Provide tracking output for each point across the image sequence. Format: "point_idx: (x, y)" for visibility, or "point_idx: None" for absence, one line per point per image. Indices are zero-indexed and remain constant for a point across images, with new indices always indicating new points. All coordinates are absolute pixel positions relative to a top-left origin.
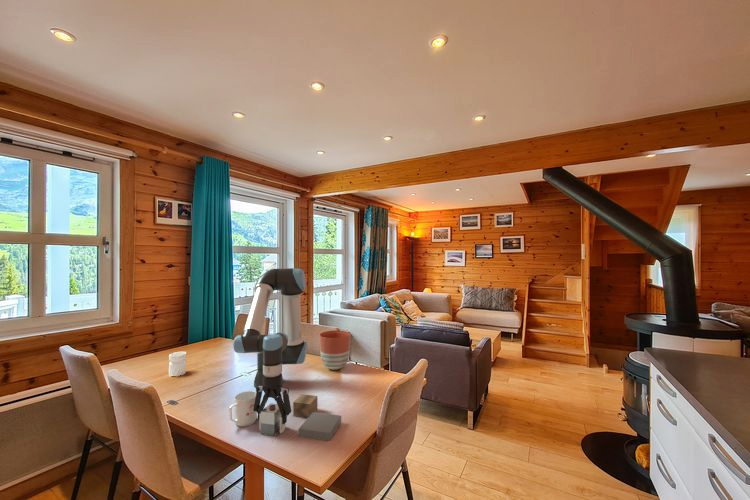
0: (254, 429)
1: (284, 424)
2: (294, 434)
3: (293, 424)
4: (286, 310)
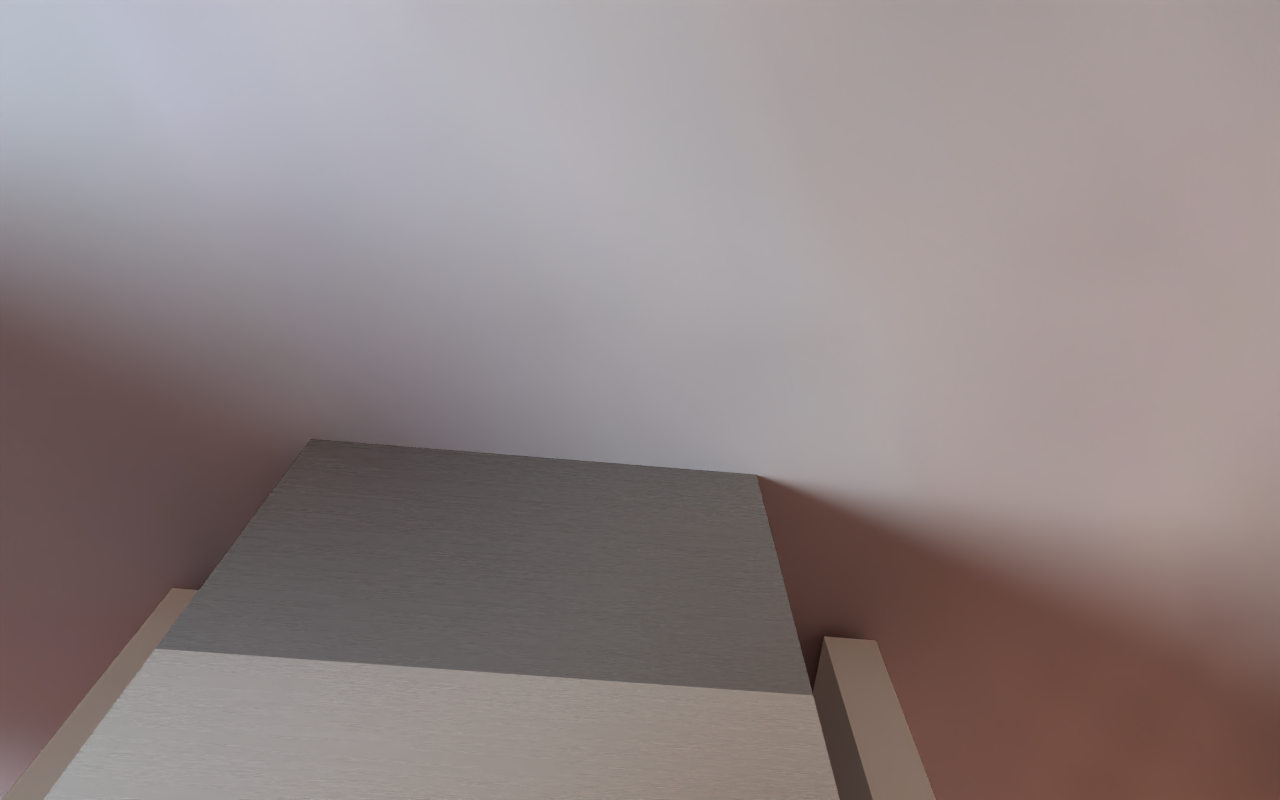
0: (25, 693)
1: (912, 775)
2: (1182, 750)
3: (1042, 336)
4: None
